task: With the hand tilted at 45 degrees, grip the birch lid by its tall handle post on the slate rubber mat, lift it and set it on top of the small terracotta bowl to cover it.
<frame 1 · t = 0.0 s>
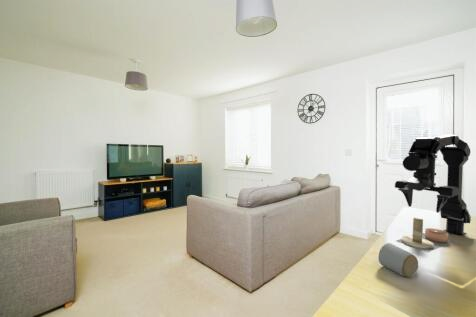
hand: (423, 209, 88), 15 cm above the table, tool pointing down, fingers open, 9 cm apart
terracotta bowl: (436, 239, 93), resting on slate mat
birch lid: (417, 243, 89), point 1 cm above the table, touching slate mat
slate mat: (424, 242, 92), on the table
ceramic mug: (399, 270, 71), on the table
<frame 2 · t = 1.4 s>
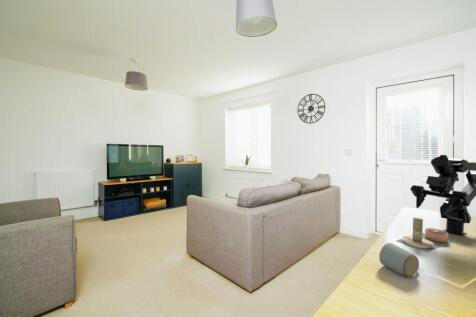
hand: (429, 210, 92), 13 cm above the table, tool tilted 45°, fingers open, 9 cm apart
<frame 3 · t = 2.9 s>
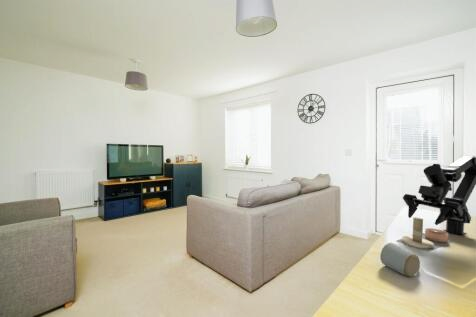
hand: (421, 220, 90), 10 cm above the table, tool tilted 45°, fingers open, 9 cm apart
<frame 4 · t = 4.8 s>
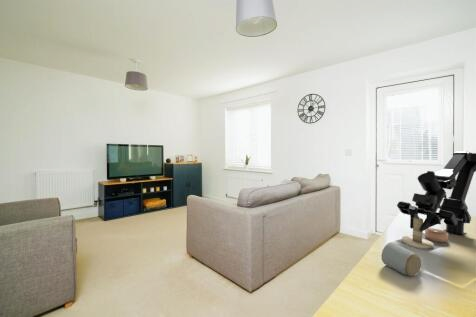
hand: (415, 229, 89), 7 cm above the table, tool tilted 45°, fingers closed on birch lid, 3 cm apart
birch lid: (417, 243, 89), point 1 cm above the table, touching gripper, slate mat
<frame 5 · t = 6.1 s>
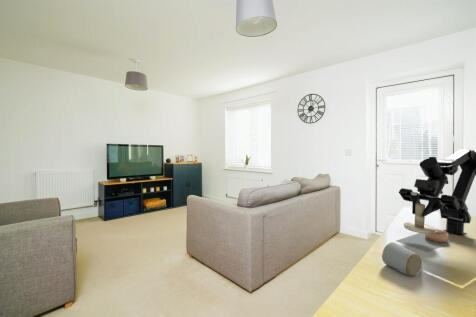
hand: (417, 214, 88), 12 cm above the table, tool tilted 45°, fingers closed on birch lid, 3 cm apart
birch lid: (419, 229, 89), point 6 cm above the table, touching gripper
when the fingers open (11 cm above the table, at t = 7.6 s): birch lid stays where it is, resting on terracotta bowl.
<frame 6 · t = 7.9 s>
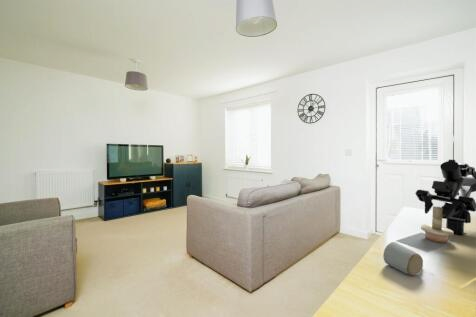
hand: (435, 215, 92), 11 cm above the table, tool tilted 45°, fingers open, 7 cm apart
birch lid: (436, 231, 93), point 4 cm above the table, touching terracotta bowl
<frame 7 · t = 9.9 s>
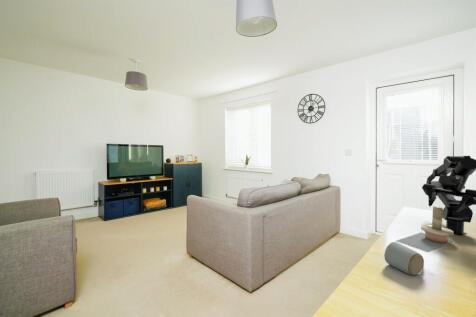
hand: (442, 208, 94), 13 cm above the table, tool tilted 45°, fingers open, 9 cm apart
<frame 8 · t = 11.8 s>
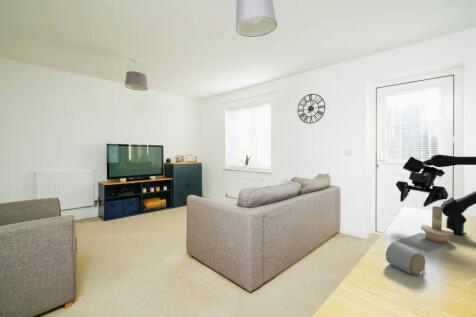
hand: (412, 203, 101), 14 cm above the table, tool tilted 45°, fingers open, 9 cm apart
at the end: birch lid 0.1 cm off-centre on the terracotta bowl, point 3.7 cm above the terracotta bowl's base; birch lid tilted 1°; the gripper is holding nothing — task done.
